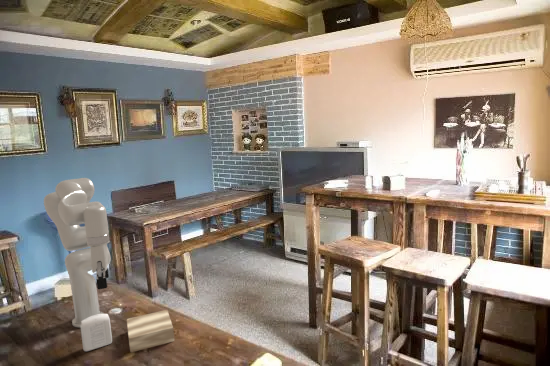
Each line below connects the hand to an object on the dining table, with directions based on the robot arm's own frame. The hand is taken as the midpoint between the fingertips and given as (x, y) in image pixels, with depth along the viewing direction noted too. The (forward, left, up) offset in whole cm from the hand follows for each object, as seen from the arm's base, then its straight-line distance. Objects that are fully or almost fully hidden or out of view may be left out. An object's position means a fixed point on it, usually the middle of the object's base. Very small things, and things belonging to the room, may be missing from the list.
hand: (103, 283), depth 143 cm
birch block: (+1, +14, -26) cm, 29 cm away
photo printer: (-2, -5, -25) cm, 26 cm away
